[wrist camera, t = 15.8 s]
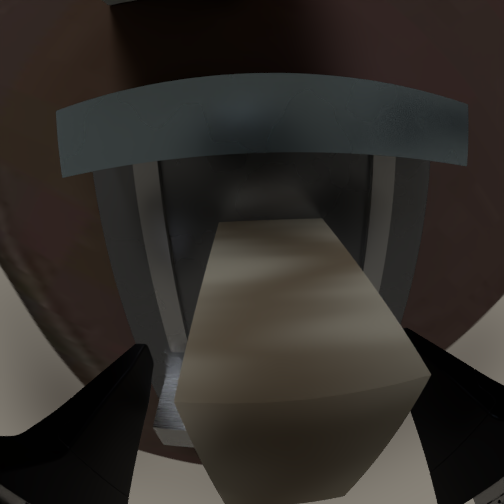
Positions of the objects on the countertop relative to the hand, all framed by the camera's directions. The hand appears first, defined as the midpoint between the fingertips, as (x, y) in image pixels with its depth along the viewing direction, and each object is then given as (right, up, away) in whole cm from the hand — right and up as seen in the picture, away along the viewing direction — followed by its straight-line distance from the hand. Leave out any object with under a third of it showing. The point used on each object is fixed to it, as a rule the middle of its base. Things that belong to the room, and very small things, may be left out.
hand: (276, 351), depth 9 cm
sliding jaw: (0, +8, 0) cm, 8 cm away
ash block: (0, +1, +3) cm, 3 cm away
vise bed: (0, +2, +4) cm, 4 cm away
